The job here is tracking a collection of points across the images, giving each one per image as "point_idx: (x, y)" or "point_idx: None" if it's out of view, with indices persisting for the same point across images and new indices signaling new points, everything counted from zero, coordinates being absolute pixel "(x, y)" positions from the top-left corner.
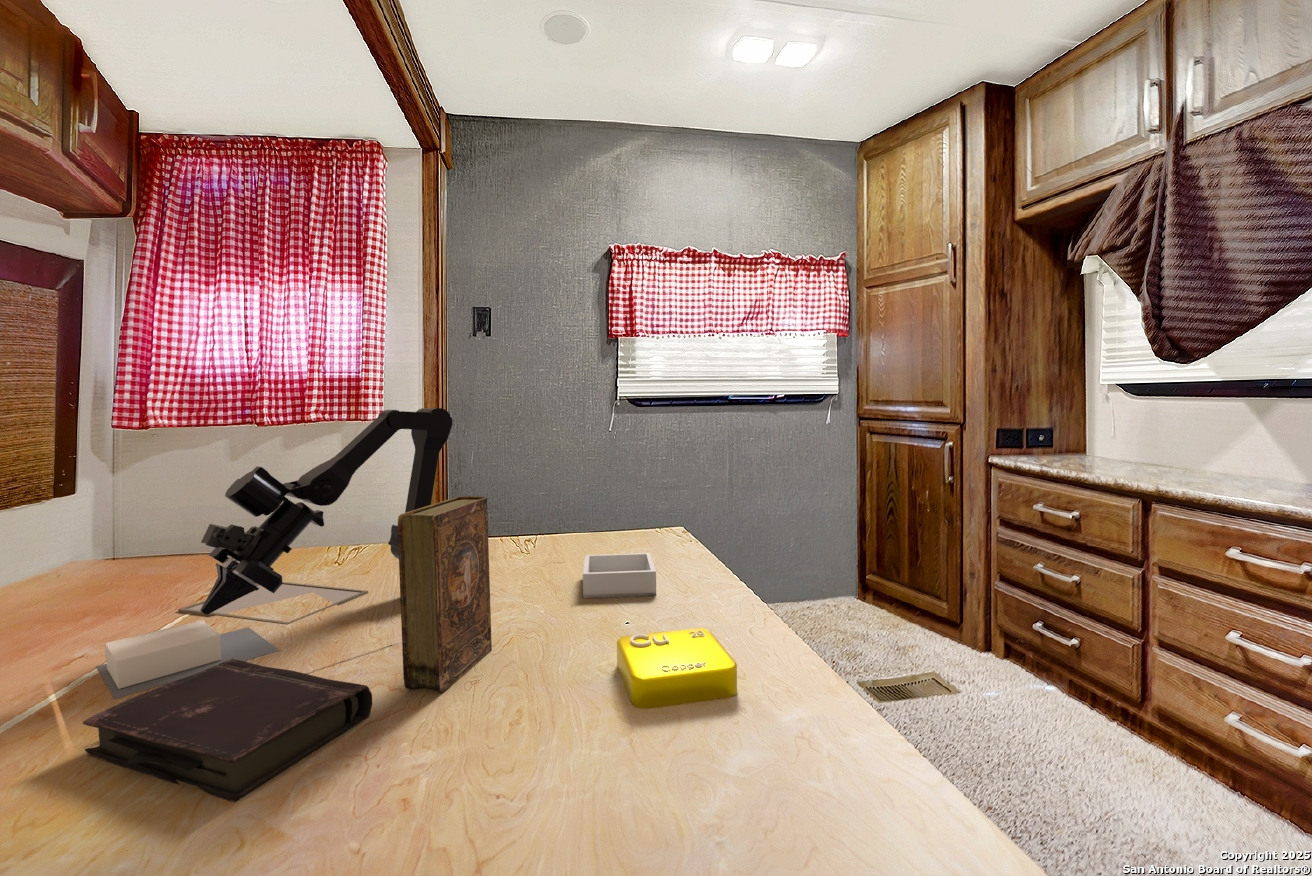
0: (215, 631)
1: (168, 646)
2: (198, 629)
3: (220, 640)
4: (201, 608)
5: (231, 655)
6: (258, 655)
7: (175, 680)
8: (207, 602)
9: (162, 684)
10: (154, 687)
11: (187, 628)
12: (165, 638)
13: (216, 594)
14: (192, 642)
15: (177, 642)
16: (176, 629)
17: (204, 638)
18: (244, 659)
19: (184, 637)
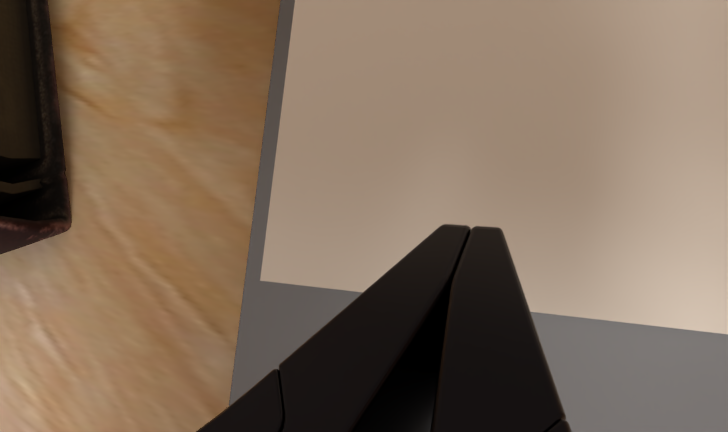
0: (347, 286)
1: (316, 10)
2: (519, 226)
3: (724, 429)
4: (484, 233)
5: None
6: None
7: (277, 81)
8: (408, 277)
9: (279, 36)
10: (279, 10)
11: (639, 176)
12: (510, 14)
13: (288, 369)
14: (280, 128)
15: (346, 60)
16: (696, 108)
17: (273, 193)
18: (252, 358)
19: (411, 111)
